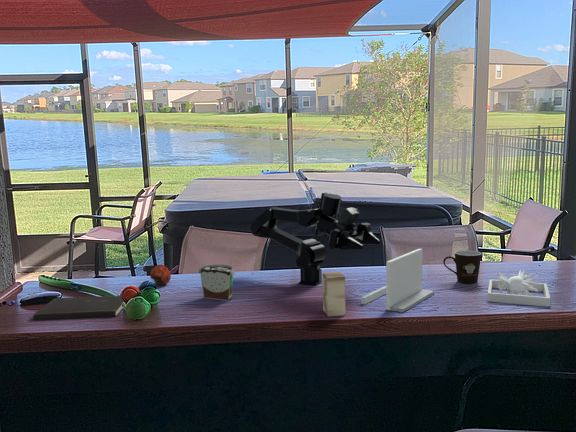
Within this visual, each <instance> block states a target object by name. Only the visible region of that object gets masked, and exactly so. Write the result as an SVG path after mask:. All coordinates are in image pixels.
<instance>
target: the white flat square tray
mask: <svg viewBox="0 0 576 432" xmlns="http://www.w3.org/2000/svg"><path fill="white" fill-rule="evenodd" d="M498 284H499V285H501V286H502V283H501V281H500V280H499V279H489V283H488V290H487V302H493V303H501V304H502V303H503V304H516V305H525V306H538V307H546V308H547V307H550V306H551V295H550V291H549V288H548V283H543V282H542V283H541V282H533V283H528V284H529V285H531V286H533V287H532V288H535V289H538V290H536V291H537V292H542V293H543V295H544V296H537V295H535V296H534V295H532V296H530V295H524V294H523V295H522V294H517V295H514V294H512V293H510V294H507V293H502V294H501V292H500V293H498V292H493V289H499V287H498ZM504 287H505V285H504V286H503V288H504ZM505 290H507V287H506V289H505ZM526 290H527V291H528V292H530V291H531V292H536V291H534V290H530V289H526Z"/></svg>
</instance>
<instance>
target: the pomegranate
mask: <svg viewBox="0 0 576 432" xmlns="http://www.w3.org/2000/svg"><path fill="white" fill-rule="evenodd" d="M168 267H169V265H168V264H167V265H165V266H164V265H156V266H154V267H152V268H151V269H150V273H149V274H150V275H149V276H150V277H149V278H150V279H152V280H153V281H154V283H153V284H154V285H155V284H157V285H162V286H165V285H167V284H168V283H169V282H170V281H171V277H172V273H171V271H170V270H169V268H168Z"/></svg>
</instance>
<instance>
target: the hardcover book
mask: <svg viewBox="0 0 576 432" xmlns="http://www.w3.org/2000/svg"><path fill="white" fill-rule="evenodd" d="M109 296H110V295H108V296H106V295H104V296H81V297H59V298H58V297H55V298H53V299H52V300H50V301H49V302H48V303H46V304H45V305H43V307H41V308H40V309H39V310H37V311H36V312H34V314H33V317H32V318H33V319H32V320H33V321H51V320H53V321H54V320H74V319H75V320H76V319H79V320H80V319H97V318H98V319H99V318H116V317H117V315H118V314H119V312H120V311H121V310H122V309H123V307H124V306H123V307H122V304H123V302H124V300H123V299H122V298H121V296H122V295H115V296H116V297H117V298H113V297H109Z"/></svg>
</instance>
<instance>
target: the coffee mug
mask: <svg viewBox="0 0 576 432" xmlns="http://www.w3.org/2000/svg"><path fill="white" fill-rule="evenodd" d="M448 259H452V260H453V262H454V263H455V269H456V271H455V270H453V269H452V268H450V267H449V266H448V265H447V264H446V260H448ZM481 260H482V252H480V251H477V250H476V251H475V250H468V249H467V250H465V249H463V250H457V251H456V250H455V251H454V257H453V256H451V255H449V256H446V257H444V258H443V262H442V264H443V265H444V267H445V268H446V269H447V270H449V271H451V272H452V273H453V274H455V275H456V279H457V280H456V281H457V283H459V284H462V285H476V284H478V281H479V274H480V267H481Z"/></svg>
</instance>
